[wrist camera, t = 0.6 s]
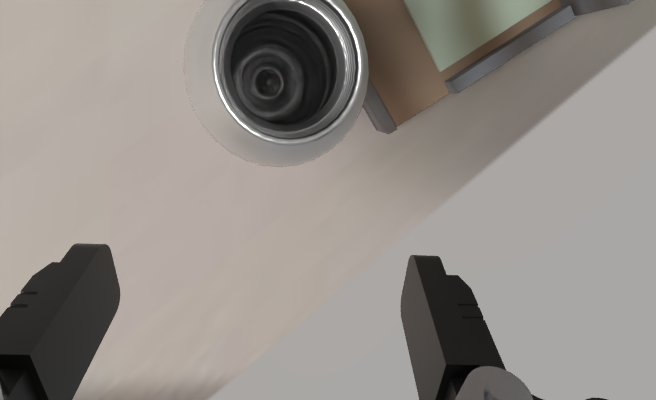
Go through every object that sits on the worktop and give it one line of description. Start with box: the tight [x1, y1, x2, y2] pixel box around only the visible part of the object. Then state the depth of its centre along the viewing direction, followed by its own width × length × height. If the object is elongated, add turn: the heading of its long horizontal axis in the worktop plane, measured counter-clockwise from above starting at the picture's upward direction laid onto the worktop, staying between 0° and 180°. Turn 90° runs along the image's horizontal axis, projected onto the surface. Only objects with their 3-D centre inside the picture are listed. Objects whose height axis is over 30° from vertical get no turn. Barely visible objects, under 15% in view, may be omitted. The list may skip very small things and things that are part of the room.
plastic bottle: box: [184, 0, 369, 167], centre depth 20 cm, size 6×7×20 cm
